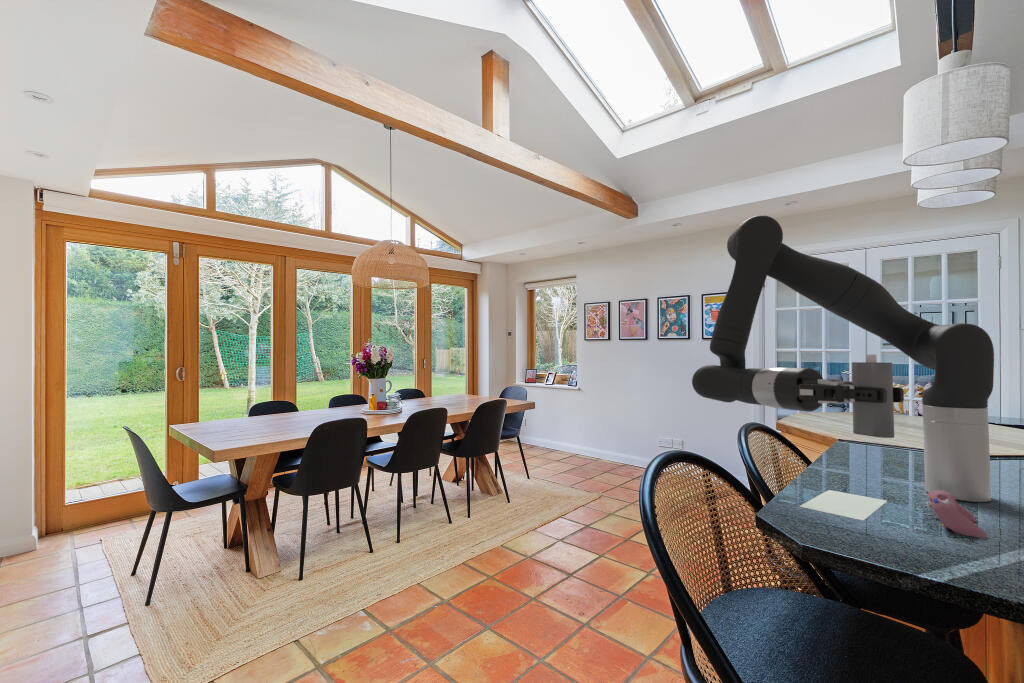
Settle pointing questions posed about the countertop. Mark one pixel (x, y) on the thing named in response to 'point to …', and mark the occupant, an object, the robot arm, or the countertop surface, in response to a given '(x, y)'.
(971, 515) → the video game controller
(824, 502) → the mat
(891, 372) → the candle
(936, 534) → the countertop surface
